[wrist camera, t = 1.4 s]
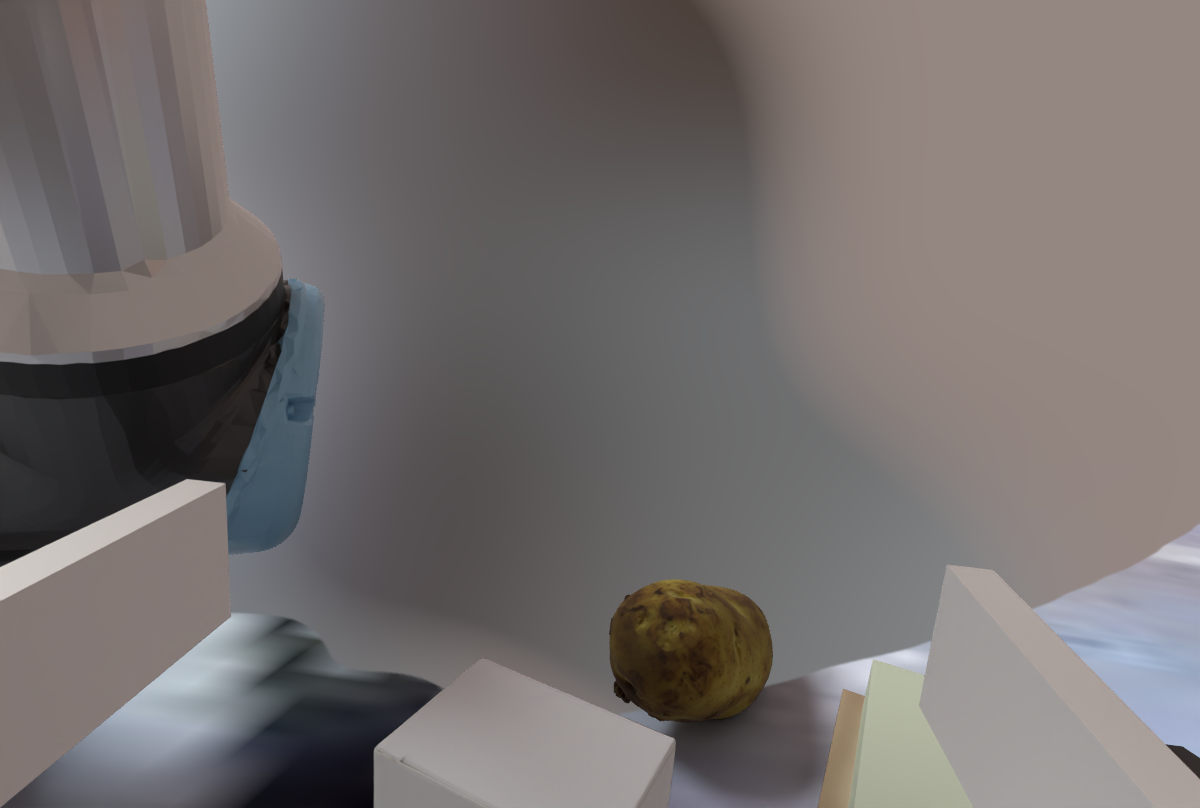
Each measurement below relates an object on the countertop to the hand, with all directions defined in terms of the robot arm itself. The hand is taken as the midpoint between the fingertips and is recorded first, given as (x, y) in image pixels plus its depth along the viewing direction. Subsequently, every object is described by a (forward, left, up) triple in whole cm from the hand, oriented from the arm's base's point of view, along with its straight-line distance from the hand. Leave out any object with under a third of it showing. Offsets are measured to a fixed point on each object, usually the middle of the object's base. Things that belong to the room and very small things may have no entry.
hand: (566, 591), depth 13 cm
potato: (-2, +24, -20) cm, 32 cm away
